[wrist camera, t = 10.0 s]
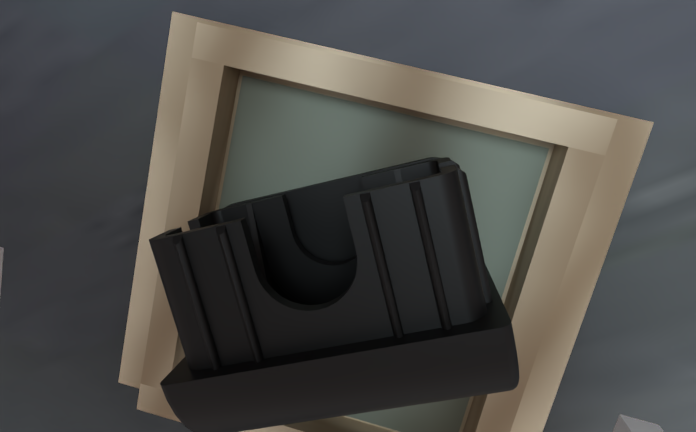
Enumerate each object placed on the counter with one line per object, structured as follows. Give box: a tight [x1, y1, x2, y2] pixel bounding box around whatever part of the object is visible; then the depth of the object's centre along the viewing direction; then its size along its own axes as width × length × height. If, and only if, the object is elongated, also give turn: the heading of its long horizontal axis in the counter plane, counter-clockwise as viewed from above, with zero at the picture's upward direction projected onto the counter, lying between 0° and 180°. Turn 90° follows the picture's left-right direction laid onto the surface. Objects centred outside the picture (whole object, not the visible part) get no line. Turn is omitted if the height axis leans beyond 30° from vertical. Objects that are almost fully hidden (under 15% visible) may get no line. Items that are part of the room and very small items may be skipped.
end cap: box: [149, 157, 519, 432], centre depth 17 cm, size 10×7×7 cm
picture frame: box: [118, 11, 654, 432], centre depth 20 cm, size 18×16×2 cm
